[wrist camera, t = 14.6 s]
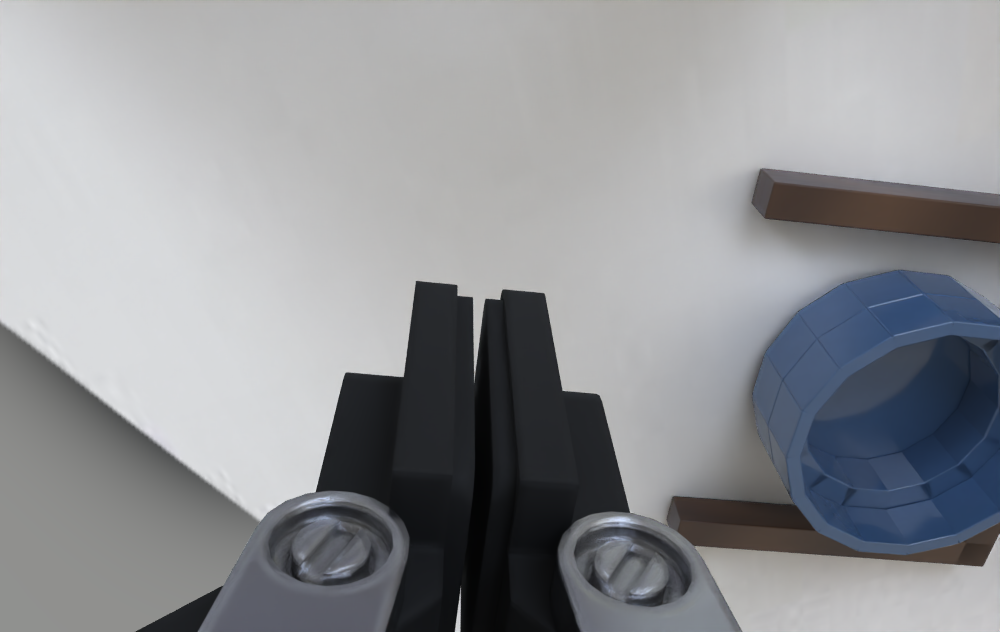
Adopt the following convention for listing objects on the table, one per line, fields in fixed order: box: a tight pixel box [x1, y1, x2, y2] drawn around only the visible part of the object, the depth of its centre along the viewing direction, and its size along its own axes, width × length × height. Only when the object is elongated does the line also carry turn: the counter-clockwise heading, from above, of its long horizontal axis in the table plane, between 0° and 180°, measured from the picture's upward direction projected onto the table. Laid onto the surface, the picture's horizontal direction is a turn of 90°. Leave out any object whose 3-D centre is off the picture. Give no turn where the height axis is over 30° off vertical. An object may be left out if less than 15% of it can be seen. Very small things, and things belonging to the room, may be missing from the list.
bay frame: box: [667, 168, 1000, 566], centre depth 38 cm, size 16×18×2 cm
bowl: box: [752, 270, 1000, 555], centre depth 37 cm, size 11×11×5 cm
